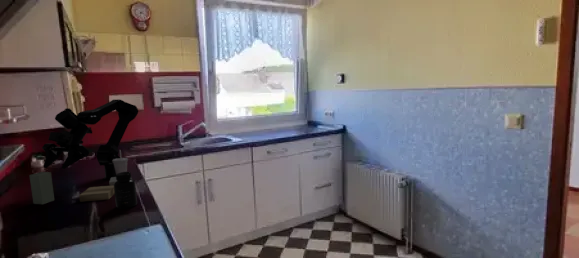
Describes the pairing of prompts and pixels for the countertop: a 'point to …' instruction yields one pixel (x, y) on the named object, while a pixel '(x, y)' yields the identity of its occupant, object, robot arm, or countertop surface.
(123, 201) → the supplement bottle
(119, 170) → the smoothie
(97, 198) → the oak block
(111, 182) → the grey tile block
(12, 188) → the countertop surface
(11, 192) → the countertop surface
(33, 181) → the sage block
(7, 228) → the countertop surface
